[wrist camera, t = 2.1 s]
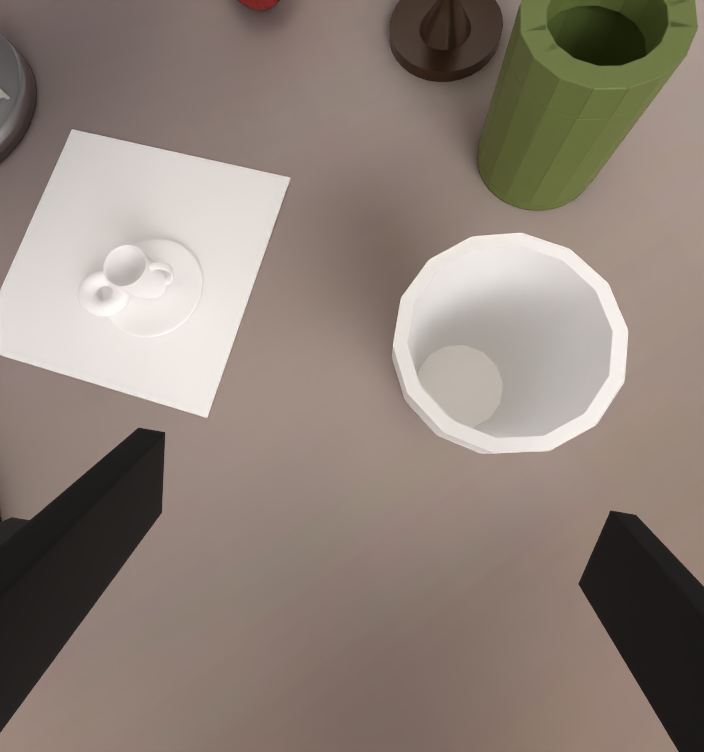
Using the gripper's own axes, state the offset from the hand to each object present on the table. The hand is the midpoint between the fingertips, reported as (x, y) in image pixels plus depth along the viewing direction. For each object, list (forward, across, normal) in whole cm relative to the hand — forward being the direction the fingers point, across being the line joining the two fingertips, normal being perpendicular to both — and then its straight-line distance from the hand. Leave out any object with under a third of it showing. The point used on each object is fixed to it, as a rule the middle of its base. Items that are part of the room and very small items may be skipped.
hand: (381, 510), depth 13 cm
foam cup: (+18, +6, -2) cm, 19 cm away
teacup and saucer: (+24, -20, +2) cm, 31 cm away
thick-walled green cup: (+26, +10, +15) cm, 32 cm away
